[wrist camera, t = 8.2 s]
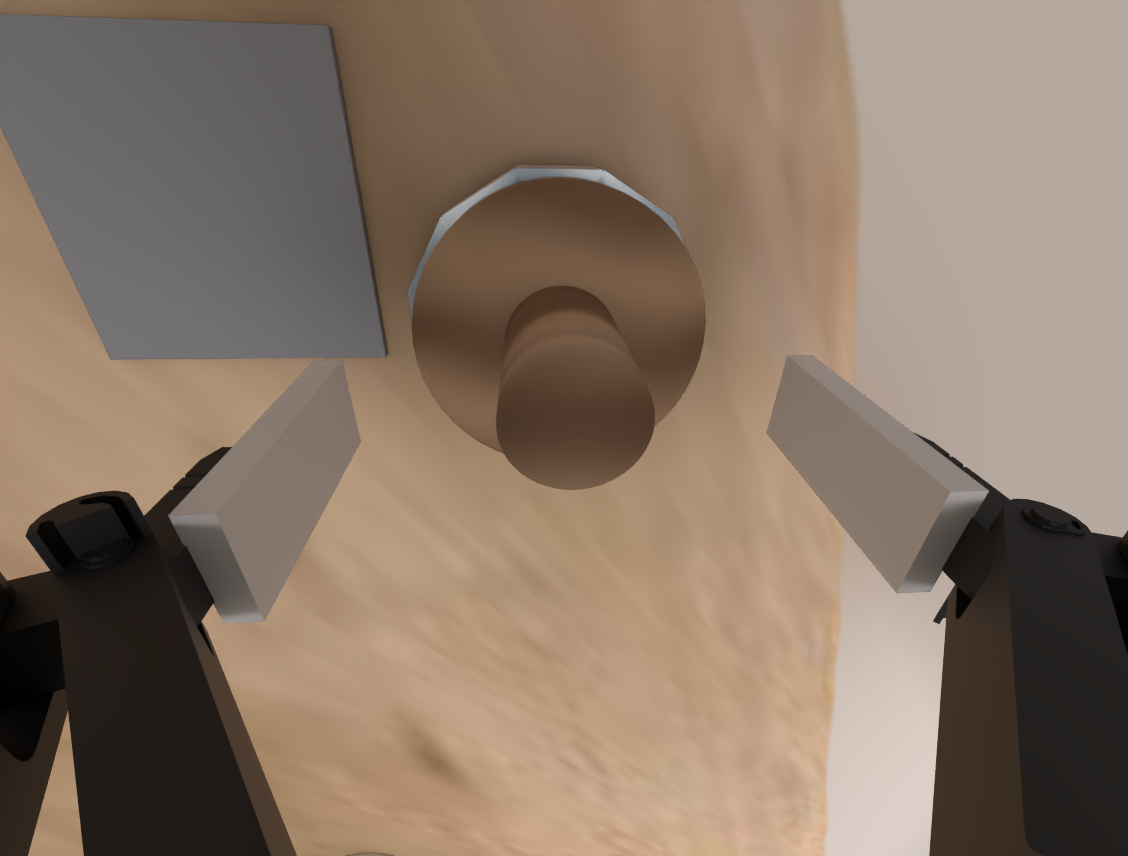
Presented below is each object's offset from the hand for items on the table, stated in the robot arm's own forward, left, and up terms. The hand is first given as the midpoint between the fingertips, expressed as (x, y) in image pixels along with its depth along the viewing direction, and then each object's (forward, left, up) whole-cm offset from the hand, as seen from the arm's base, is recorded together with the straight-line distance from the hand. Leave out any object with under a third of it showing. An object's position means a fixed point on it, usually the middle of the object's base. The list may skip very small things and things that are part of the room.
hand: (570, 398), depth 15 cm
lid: (0, 0, -7) cm, 8 cm away
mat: (-4, -16, -12) cm, 21 cm away
